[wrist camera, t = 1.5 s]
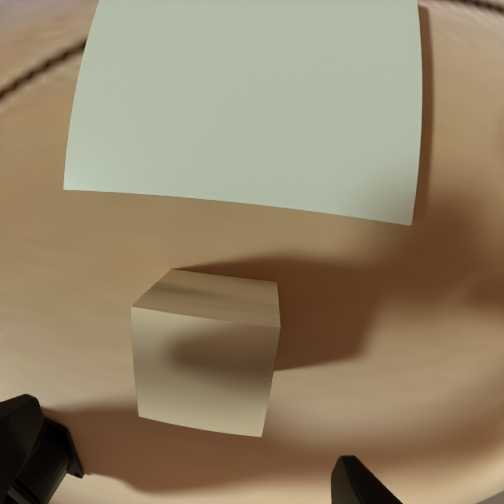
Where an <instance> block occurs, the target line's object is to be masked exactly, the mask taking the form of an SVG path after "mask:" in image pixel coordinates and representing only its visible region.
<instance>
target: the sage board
mask: <svg viewBox="0 0 504 504" xmlns="http://www.w3.org/2000/svg"><path fill="white" fill-rule="evenodd" d="M421 123H422V56H421V38H420V25H419V14H418V5H417V0H100V1H99V4H98V7H97V10H96V13H95V16H94V19H93V22H92V25H91V29H90V32H89V36H88V39H87V43H86V47H85V51H84V55H83V59H82V63H81V67H80V72H79V76H78V81H77V86H76V91H75V97H74V102H73V108H72V114H71V121H70V128H69V135H68V144H67V153H66V163H65V176H64V190H87V191H105V192H122V193H137V194H151V195H164V196H176V197H188V198H199V199H209V200H220V201H230V202H239V203H249V204H258V205H266V206H275V207H283V208H291V209H299V210H307V211H315V212H322V213H330V214H337V215H344V216H351V217H357V218H364V219H371V220H377V221H384V222H390V223H396V224H402V225H408V226H411V224H412V217H413V210H414V203H415V195H416V187H417V178H418V168H419V156H420V142H421Z"/></svg>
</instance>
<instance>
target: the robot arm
mask: <svg viewBox="0 0 504 504" xmlns="http://www.w3.org/2000/svg"><path fill="white" fill-rule="evenodd" d="M66 473H68V474H70V475H73V476H75V477H78V478H83V476H84V472H83V470H82V467H81V465H80V462H79V460H78V457H77V454H76V451H75V449H74V446H73V443H72V440H71V437H70V434H69V431H68V430H67V428H65V427H64V426H62V425H60V424H58V423H55V422H53V421H50V420H48V419H46V418H43V414H42V411H41V408H40V405H39V401H38V399H37V398H36V397H33V396H31V395H29V394H23V395H20V396H17V397H14V398H12V399H9V400H6V401H3V402H0V504H48V502H49V501H50V499H51V497H52V496H53V494H54V493H55V491H56V489H57V488H58V486H59V485H60V483H61V481H62V480H63V478H64V477H65V475H66ZM331 501H332V504H403V503H402V502H401V501H400V500H399V499H398V498H396V497H395V496H394V495H393V494H392V493H391V492H390V491H389V490H388V489H387V488H386V487H385V486H384V485H383V484H382V483H381V482H380V481H379V480H378V479H377V478H376V477H375V476H374V475H373V474H372V473H371V472H370V471H369V470H368V469H367V468H366V467H365V466H364V464H363V463H362V462H361V461H360V460H359V459H358V458H357V457H356V456H354V455H342V456H340V457H339V458H338V460H337V463H336V465H335V467H334V469H333V472H332V475H331Z"/></svg>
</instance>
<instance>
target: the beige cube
mask: <svg viewBox="0 0 504 504" xmlns="http://www.w3.org/2000/svg"><path fill="white" fill-rule="evenodd" d="M131 326H132V346H133V361H134V374H135V385H136V395H137V404H138V413H139V417H143V418H147V419H152V420H156V421H161V422H165V423H170V424H175V425H180V426H185V427H190V428H196V429H202V430H208V431H215V432H222V433H229V434H237V435H246V436H255V437H262V432H263V427H264V422H265V416H266V411H267V406H268V400H269V395H270V389H271V383H272V378H273V372H274V366H275V360H276V354H277V348H278V342H279V336H280V329H281V324H280V312H279V300H278V288H277V282H273V281H264V280H255V279H247V278H239V277H230V276H222V275H214V274H206V273H198V272H190V271H183V270H175V269H171V270H170V271H169V272H168V273H166V274H165V275H164V276H163V277H162V278H161V279H160V280H159V281H158V282H157V283H155V284H154V285H153V286H152V287H151V288H150V289H149V290H148V291H147V292H146V293H145V294H144V295H142V296H141V297H140V298H139V299H138V300H137V301H136V302H135V303H134V304H133V305H132V306H131Z"/></svg>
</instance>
